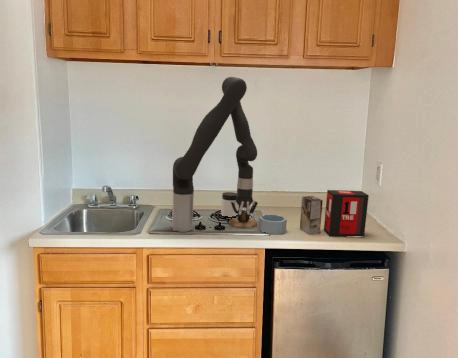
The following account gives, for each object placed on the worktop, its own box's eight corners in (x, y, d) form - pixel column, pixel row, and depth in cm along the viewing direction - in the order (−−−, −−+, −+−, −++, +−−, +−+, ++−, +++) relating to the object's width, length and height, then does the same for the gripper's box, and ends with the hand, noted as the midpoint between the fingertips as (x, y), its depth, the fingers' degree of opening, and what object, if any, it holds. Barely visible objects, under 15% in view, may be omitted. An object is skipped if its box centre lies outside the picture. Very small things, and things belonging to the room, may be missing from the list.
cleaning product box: (357, 231, 207) (361, 191, 203) (364, 237, 198) (368, 195, 194) (323, 230, 206) (327, 189, 202) (329, 236, 197) (333, 194, 193)
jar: (219, 214, 225) (220, 192, 222) (233, 213, 227) (235, 191, 225) (224, 219, 216) (225, 196, 214) (239, 218, 219) (240, 195, 217)
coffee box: (320, 233, 201) (323, 200, 198) (308, 234, 198) (311, 200, 195) (310, 227, 209) (313, 195, 206) (298, 228, 207) (301, 196, 204)
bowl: (263, 234, 195) (264, 221, 194) (256, 226, 207) (257, 214, 205) (288, 234, 197) (289, 221, 196) (280, 226, 209) (281, 214, 208)
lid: (231, 228, 201) (232, 217, 200) (226, 220, 215) (226, 209, 213) (260, 228, 204) (261, 216, 203) (253, 219, 217) (253, 209, 216)
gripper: (232, 188, 201) (230, 224, 204) (261, 188, 203) (259, 223, 207) (229, 185, 208) (227, 219, 211) (257, 185, 211) (255, 219, 214)
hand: (243, 221), depth 209 cm, fingers closed on lid, 3 cm apart
